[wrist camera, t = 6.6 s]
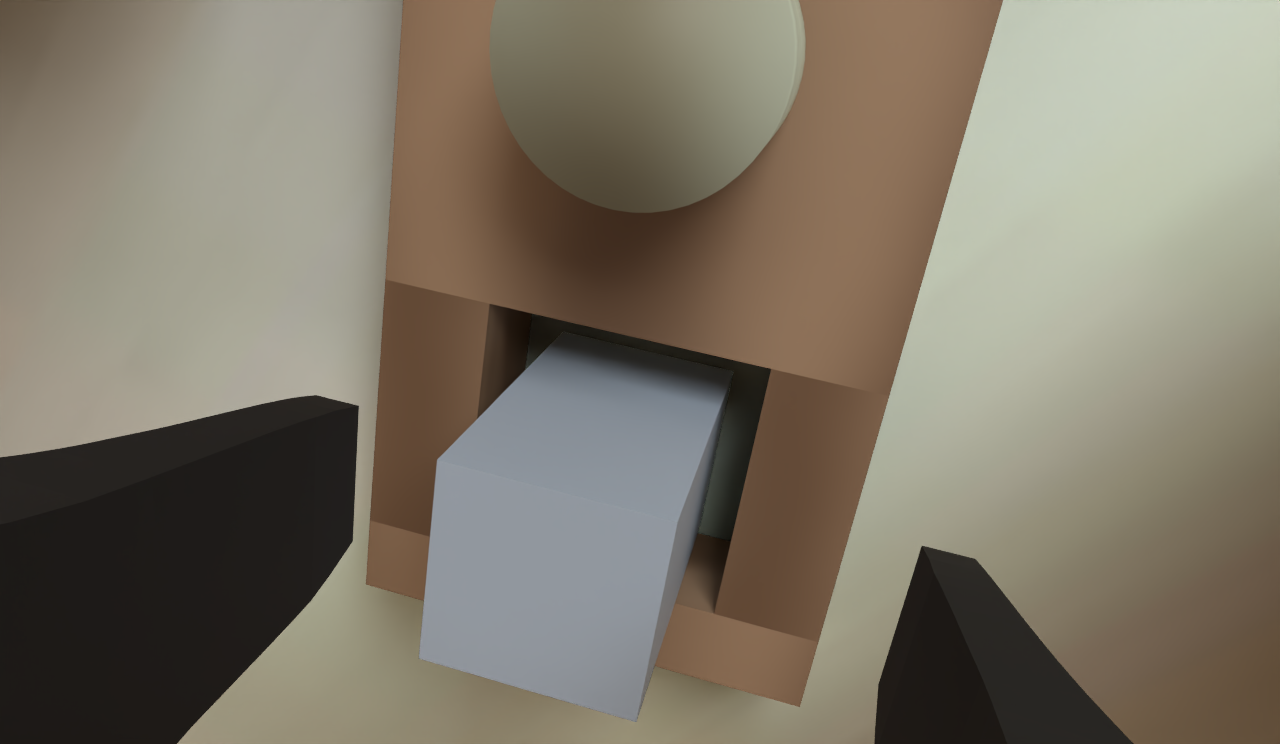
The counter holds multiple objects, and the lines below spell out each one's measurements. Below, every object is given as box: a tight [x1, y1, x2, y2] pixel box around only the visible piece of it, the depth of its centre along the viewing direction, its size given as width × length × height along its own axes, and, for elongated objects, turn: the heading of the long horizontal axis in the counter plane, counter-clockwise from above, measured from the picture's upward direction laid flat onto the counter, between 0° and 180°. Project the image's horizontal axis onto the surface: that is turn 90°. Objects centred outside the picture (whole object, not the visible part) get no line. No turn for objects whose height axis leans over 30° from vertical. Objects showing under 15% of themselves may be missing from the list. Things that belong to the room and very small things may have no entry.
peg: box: [419, 332, 734, 722], centre depth 19 cm, size 4×4×7 cm
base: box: [366, 0, 1003, 707], centre depth 18 cm, size 10×16×6 cm, turn 170°
